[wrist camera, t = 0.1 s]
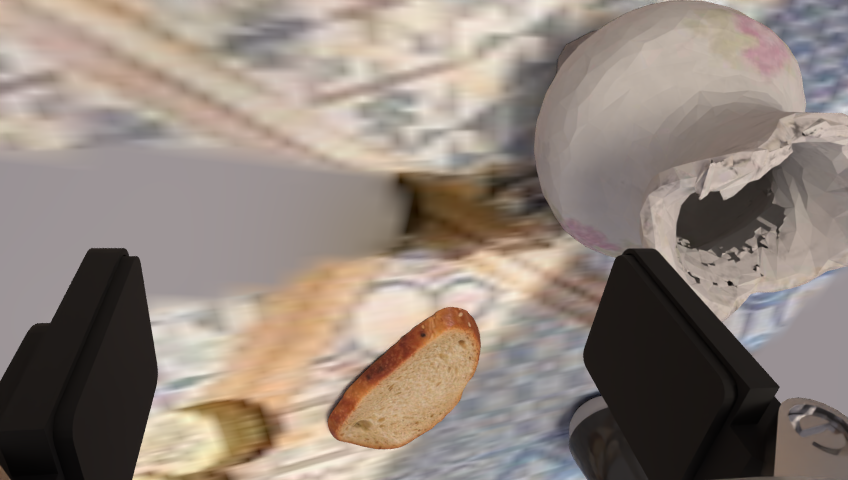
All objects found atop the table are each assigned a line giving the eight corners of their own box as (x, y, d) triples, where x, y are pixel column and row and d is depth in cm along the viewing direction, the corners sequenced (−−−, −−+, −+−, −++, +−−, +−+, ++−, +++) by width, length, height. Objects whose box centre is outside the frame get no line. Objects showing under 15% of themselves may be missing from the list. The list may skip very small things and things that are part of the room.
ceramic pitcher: (766, -7, 50) (1113, 54, 29) (701, 204, 59) (928, 370, 38) (520, -20, 46) (709, 39, 25) (491, 209, 55) (611, 397, 34)
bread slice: (476, 299, 62) (485, 323, 59) (484, 414, 72) (492, 439, 69) (303, 333, 60) (303, 359, 57) (336, 445, 71) (338, 473, 67)
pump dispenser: (577, 378, 71) (637, 491, 58) (650, 385, 74) (721, 495, 62) (543, 435, 76) (592, 552, 63) (612, 440, 79) (672, 552, 67)
